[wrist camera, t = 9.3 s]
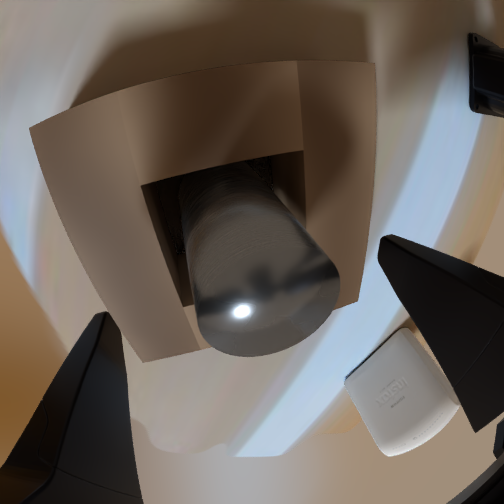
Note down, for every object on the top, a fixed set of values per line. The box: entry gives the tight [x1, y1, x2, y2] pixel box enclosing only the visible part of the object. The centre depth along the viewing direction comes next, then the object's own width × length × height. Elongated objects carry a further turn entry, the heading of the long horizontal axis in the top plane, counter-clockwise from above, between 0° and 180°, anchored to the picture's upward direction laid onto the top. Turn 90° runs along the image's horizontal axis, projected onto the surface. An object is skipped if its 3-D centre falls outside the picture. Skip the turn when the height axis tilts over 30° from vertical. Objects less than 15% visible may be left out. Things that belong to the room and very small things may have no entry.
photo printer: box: [344, 328, 460, 457], centre depth 25 cm, size 10×4×12 cm, turn 145°
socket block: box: [29, 60, 376, 363], centre depth 12 cm, size 12×12×4 cm
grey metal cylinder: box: [179, 161, 341, 357], centre depth 11 cm, size 4×4×8 cm
